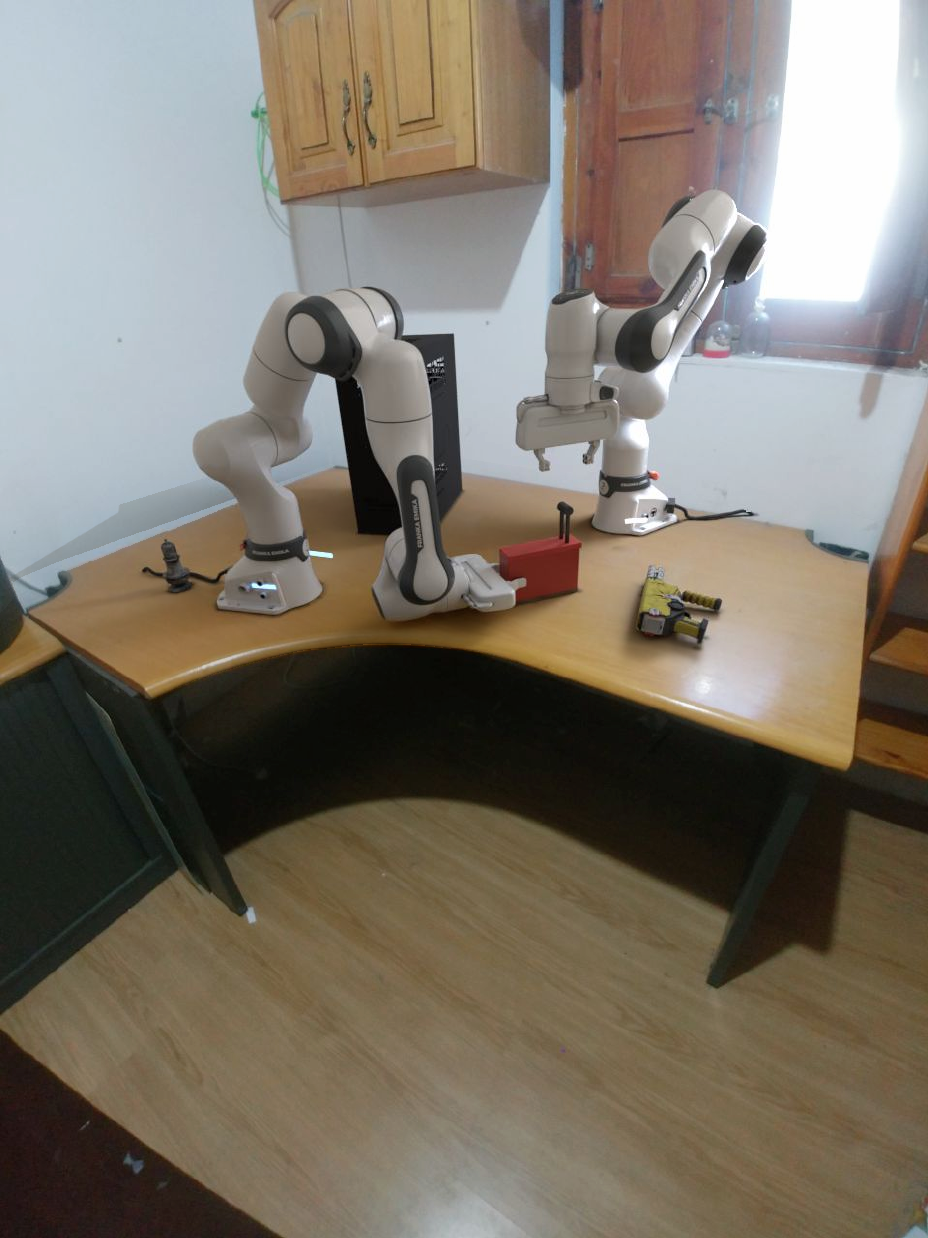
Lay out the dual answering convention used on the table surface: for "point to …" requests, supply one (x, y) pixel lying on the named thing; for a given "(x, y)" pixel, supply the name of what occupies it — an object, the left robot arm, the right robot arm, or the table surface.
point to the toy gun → (670, 608)
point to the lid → (545, 541)
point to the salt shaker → (175, 569)
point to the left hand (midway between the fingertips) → (517, 574)
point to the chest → (543, 575)
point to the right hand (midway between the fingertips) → (566, 466)
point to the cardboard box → (369, 481)
